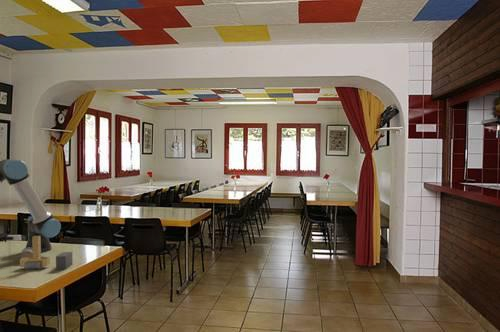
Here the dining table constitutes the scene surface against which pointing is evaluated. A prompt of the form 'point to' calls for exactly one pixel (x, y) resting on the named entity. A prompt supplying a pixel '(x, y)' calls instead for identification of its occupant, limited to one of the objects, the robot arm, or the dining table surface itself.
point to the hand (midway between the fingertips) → (20, 237)
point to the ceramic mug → (27, 253)
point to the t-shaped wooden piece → (36, 253)
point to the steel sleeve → (32, 266)
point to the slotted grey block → (63, 260)
